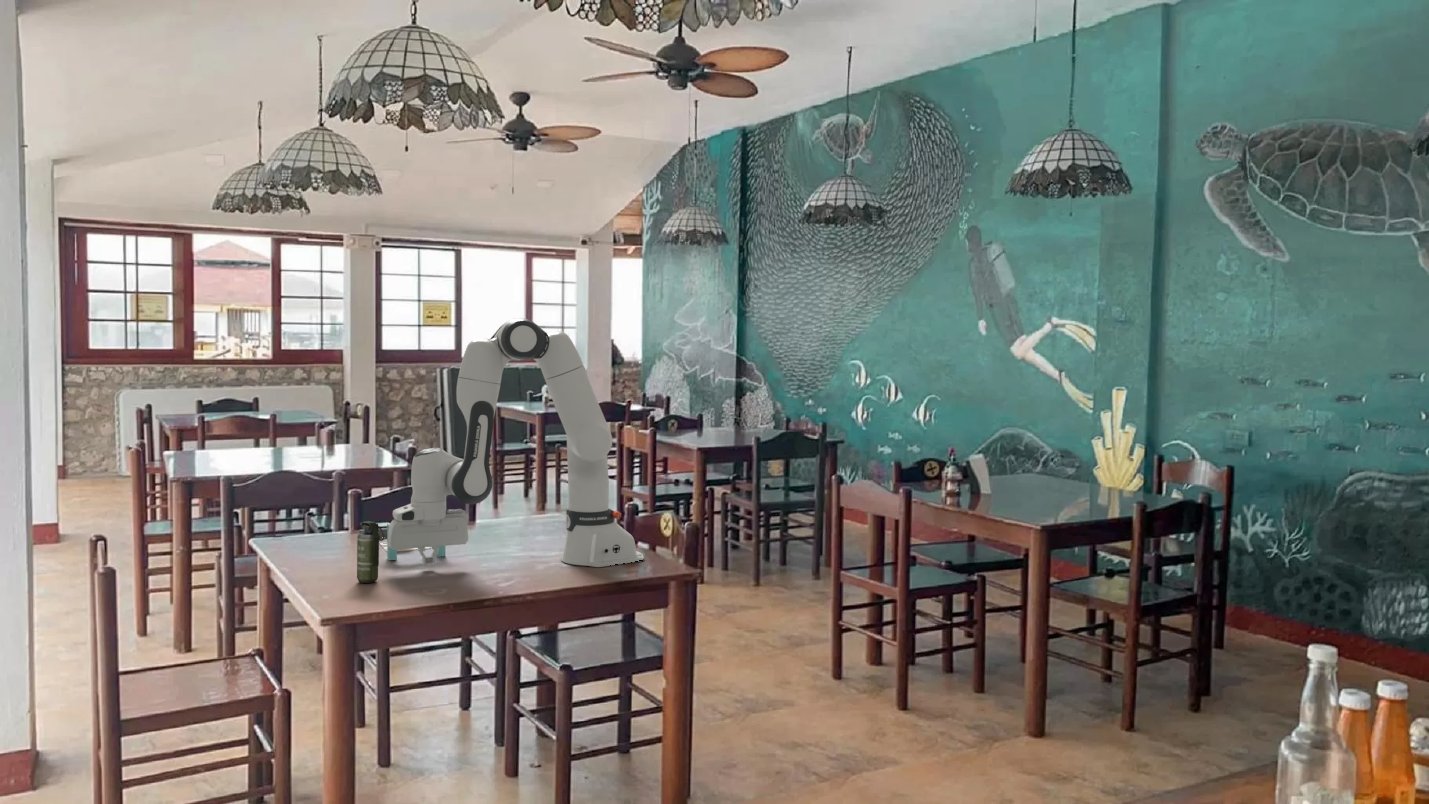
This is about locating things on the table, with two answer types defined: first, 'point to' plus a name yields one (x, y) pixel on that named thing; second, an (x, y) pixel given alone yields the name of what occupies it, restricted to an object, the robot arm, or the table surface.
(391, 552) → the bridge
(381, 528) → the stopper
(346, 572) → the table surface
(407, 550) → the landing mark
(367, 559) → the grenade
